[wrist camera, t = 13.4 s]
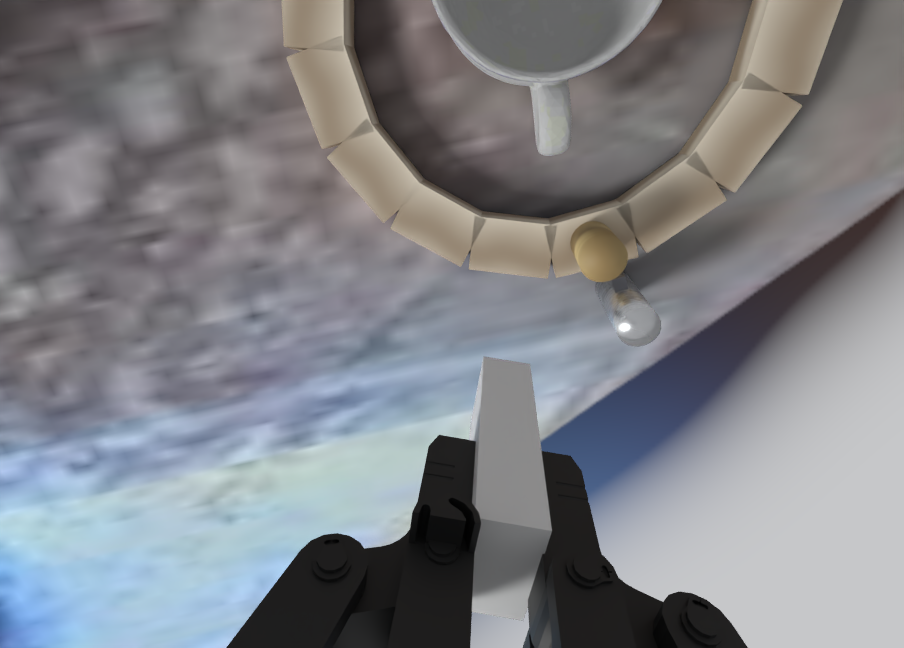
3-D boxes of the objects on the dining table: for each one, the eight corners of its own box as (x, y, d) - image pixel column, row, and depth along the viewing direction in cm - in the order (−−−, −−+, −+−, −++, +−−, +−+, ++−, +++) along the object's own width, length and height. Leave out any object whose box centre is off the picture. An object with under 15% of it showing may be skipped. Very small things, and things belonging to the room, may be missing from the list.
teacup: (448, -144, 25) (424, -251, 17) (660, -137, 24) (728, -248, 17) (436, 141, 30) (413, 149, 23) (606, 153, 30) (639, 166, 22)
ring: (394, 309, 35) (374, 345, 30) (206, -185, 25) (122, -270, 19) (830, 197, 29) (905, 216, 24) (823, -524, 19) (954, -790, 13)
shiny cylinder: (589, 298, 34) (608, 341, 27) (602, 256, 32) (625, 291, 26) (625, 305, 33) (652, 350, 27) (639, 263, 32) (672, 299, 26)
